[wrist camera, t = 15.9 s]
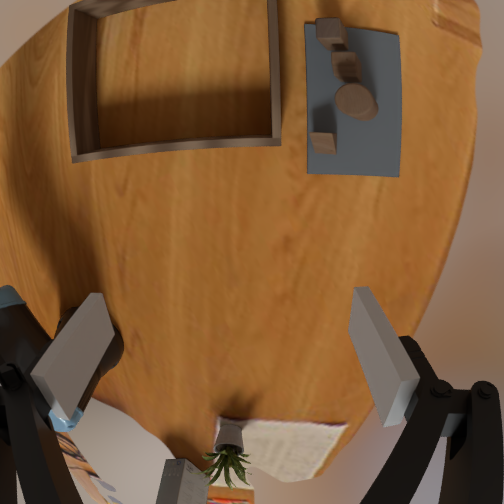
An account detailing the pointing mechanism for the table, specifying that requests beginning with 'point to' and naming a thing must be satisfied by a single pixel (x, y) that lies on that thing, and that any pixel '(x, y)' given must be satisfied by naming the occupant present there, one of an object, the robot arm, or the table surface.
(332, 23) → the wooden block set
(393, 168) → the mat
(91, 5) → the crate
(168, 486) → the hard drive box
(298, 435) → the table surface
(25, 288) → the table surface
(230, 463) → the house plant
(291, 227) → the table surface
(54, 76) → the table surface
